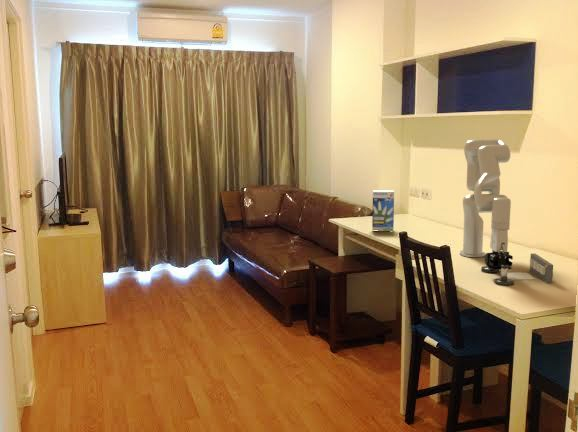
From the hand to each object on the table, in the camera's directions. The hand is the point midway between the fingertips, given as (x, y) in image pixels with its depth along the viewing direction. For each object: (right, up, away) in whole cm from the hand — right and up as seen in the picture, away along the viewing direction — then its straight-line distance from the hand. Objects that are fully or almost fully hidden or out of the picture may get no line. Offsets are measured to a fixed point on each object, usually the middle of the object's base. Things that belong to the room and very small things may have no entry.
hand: (498, 264), depth 244 cm
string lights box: (-33, +12, +104) cm, 110 cm away
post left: (0, -4, +10) cm, 11 cm away
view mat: (+9, -6, 0) cm, 10 cm away
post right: (-1, -7, -8) cm, 11 cm away
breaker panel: (+19, -5, 0) cm, 19 cm away
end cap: (0, -2, 0) cm, 2 cm away
